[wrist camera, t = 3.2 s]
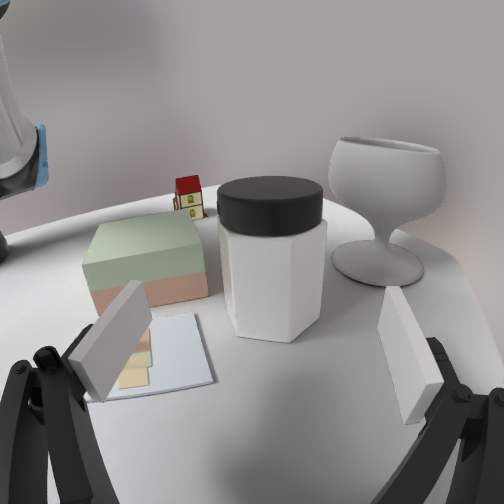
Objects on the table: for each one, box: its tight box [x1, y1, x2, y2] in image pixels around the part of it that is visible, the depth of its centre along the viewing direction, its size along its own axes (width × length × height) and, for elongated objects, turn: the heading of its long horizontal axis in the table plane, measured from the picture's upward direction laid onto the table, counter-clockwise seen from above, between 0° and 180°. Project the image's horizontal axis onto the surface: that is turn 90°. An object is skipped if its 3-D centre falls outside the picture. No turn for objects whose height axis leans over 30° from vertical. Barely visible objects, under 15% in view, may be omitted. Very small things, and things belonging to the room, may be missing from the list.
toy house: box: [173, 175, 208, 220], centre depth 53 cm, size 6×7×8 cm
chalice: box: [329, 137, 446, 287], centre depth 32 cm, size 14×14×15 cm
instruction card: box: [75, 312, 213, 402], centre depth 22 cm, size 9×12×1 cm
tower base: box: [82, 209, 209, 316], centre depth 33 cm, size 12×12×6 cm
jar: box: [217, 176, 327, 343], centre depth 25 cm, size 9×8×12 cm
